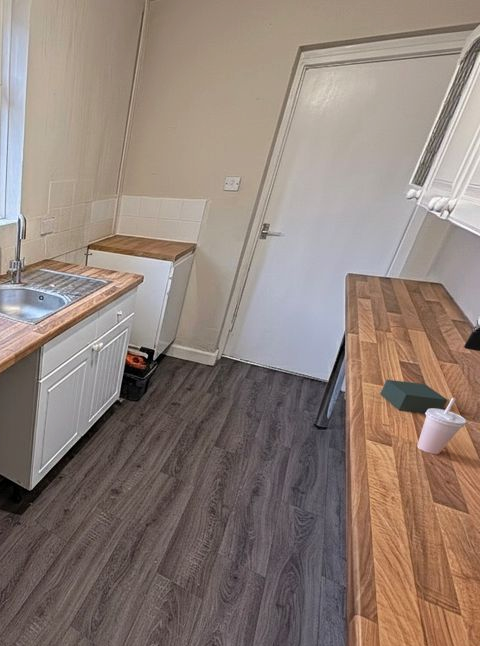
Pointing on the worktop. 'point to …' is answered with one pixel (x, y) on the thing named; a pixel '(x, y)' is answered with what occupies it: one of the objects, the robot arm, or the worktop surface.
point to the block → (412, 396)
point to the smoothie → (439, 429)
